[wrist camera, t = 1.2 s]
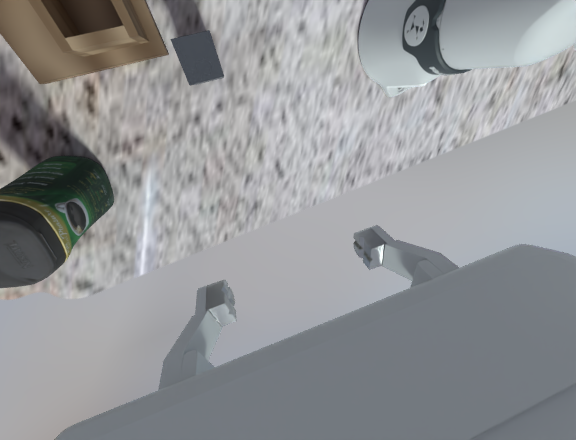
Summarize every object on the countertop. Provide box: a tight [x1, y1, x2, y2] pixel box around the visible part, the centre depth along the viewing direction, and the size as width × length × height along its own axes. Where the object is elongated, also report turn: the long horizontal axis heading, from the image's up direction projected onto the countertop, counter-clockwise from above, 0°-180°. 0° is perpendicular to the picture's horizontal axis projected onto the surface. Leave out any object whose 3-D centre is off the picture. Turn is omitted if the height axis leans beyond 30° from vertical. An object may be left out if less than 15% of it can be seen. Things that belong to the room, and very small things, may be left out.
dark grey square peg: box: [171, 31, 224, 85], centre depth 26 cm, size 4×4×10 cm
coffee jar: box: [0, 156, 114, 288], centre depth 27 cm, size 10×8×19 cm
